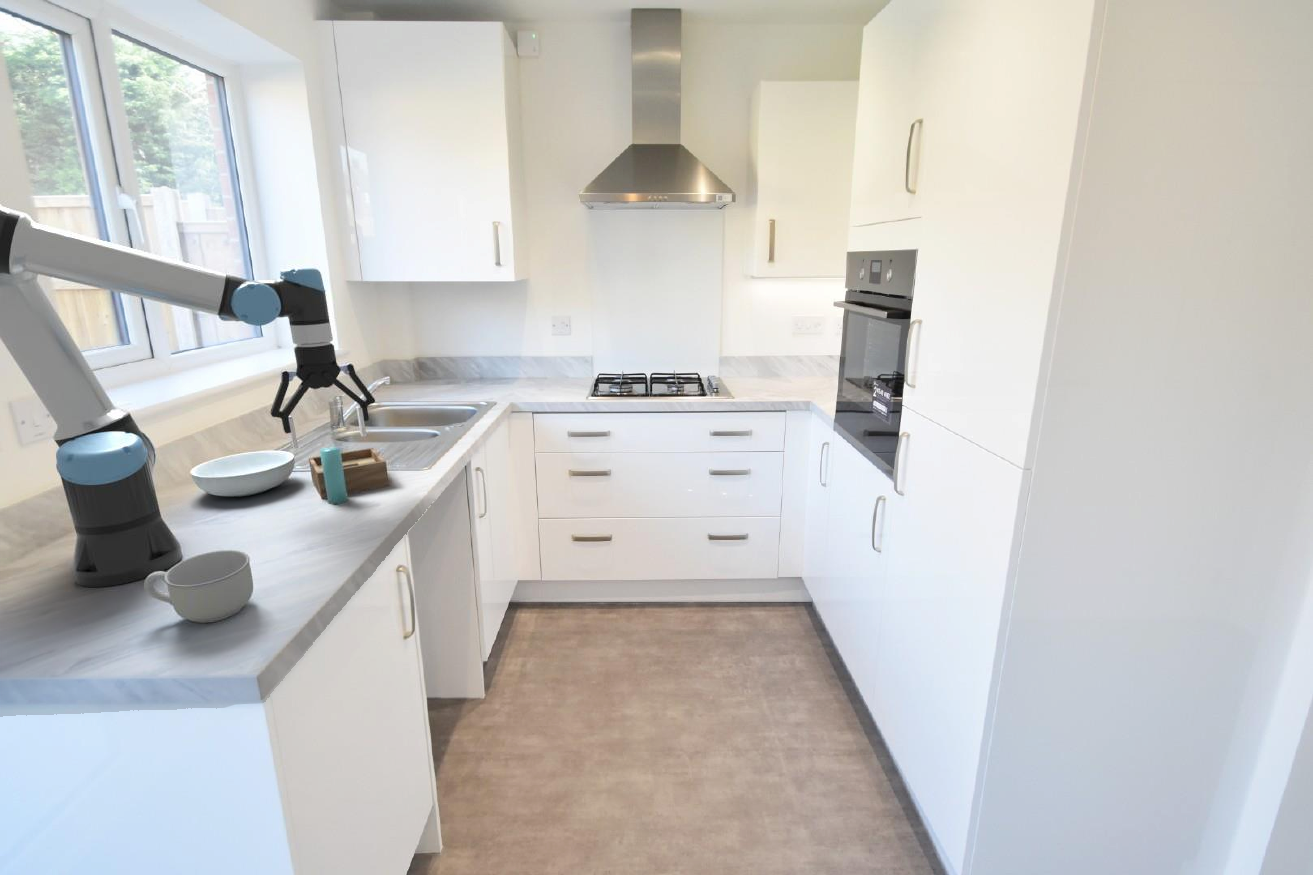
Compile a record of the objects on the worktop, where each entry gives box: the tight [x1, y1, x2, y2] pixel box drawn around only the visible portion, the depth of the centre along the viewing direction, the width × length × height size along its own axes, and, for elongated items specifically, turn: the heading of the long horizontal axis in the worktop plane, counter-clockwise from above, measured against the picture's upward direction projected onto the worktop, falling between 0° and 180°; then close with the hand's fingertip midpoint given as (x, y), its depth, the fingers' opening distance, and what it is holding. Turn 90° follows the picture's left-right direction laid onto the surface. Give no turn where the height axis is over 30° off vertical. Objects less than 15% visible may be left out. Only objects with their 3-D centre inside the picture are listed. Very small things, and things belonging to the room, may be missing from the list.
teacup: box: [143, 549, 254, 624], centre depth 100 cm, size 14×11×8 cm
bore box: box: [308, 447, 390, 499], centre depth 157 cm, size 15×15×6 cm
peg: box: [319, 446, 348, 505], centre depth 145 cm, size 4×4×12 cm
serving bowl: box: [189, 450, 295, 497], centre depth 154 cm, size 21×21×7 cm
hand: (330, 441), depth 143 cm, fingers open, 13 cm apart
